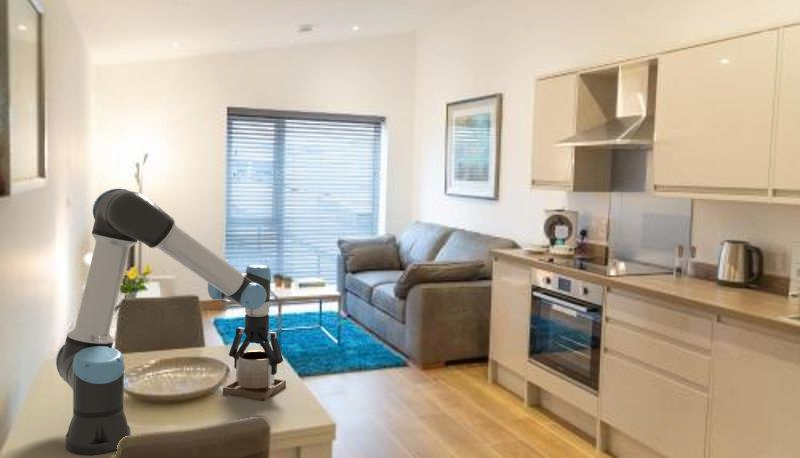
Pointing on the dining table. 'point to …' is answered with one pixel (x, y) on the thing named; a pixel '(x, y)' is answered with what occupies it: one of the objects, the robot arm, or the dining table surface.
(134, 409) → the dining table surface
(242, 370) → the planter
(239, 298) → the robot arm
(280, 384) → the tray
